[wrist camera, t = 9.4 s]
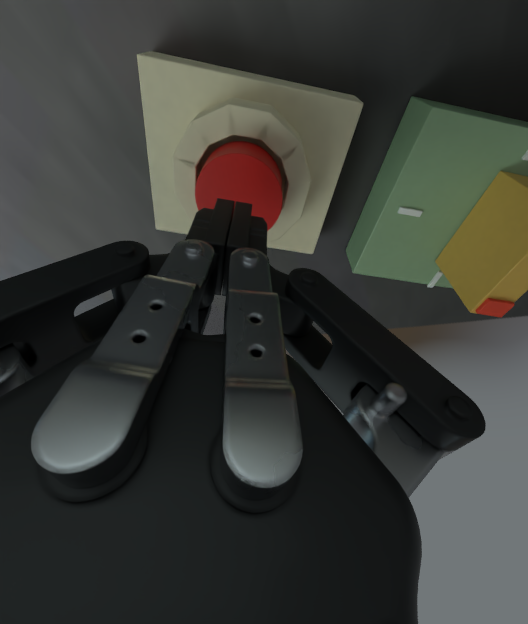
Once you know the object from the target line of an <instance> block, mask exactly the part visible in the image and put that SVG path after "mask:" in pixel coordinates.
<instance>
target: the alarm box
mask: <svg viewBox="0 0 528 624" xmlns="http://www.w3.org/2000/svg"><path fill="white" fill-rule="evenodd" d="M137 60H138V69H139V78H140V88H141V97H142V106H143V115H144V124H145V133H146V143H147V152H148V161H149V170H150V179H151V189H152V198H153V207H154V216H155V225H156V229H157V230H163V231H170V232H176V233H182V234H188V232H189V230H190V227H191V225H192V222H193V220H194V217H195V215H196V212H198V208H197V205H196V200H195V186H196V181H197V179H198V176H199V174H200V172H201V170H202V168H203V166H204V164H205V162H206V160H207V159H208V157H209V156H210V154H211V153H212V152H213V151H214V150H215V149H217V148H218V147H219V146H221V145H223V144H225V143H228V142H233V141H247V142H251V143H254V144H256V145H258V146H260V147H262V148H263V149H264V150H266V151H267V152H268V153H269V154H270V155H271V156H272V157H273V159H274V160H275V162H276V164H277V165H278V168H279V170H280V174H281V178H282V192H283V204H282V210H281V213H280V215H279V218H278V220H277V221H276V223H275V224H274V225H273V227H272V228H270V229H269V230H268V231H267V247H271V248H277V249H283V250H289V251H296V252H302V253H308V254H313V252H314V249H315V246H316V243H317V240H318V237H319V234H320V231H321V229H322V226H323V223H324V220H325V217H326V214H327V211H328V208H329V205H330V202H331V199H332V196H333V193H334V190H335V187H336V184H337V181H338V178H339V175H340V172H341V169H342V167H343V164H344V161H345V158H346V155H347V152H348V149H349V146H350V143H351V140H352V137H353V134H354V131H355V128H356V125H357V122H358V119H359V116H360V113H361V110H362V107H363V102H362V101H360V100H359V99H358V98H357V97H356V96H354V95H350V94H345V93H341V92H336V91H331V90H327V89H322V88H318V87H313V86H309V85H304V84H300V83H295V82H290V81H286V80H281V79H277V78H272V77H268V76H263V75H258V74H254V73H249V72H245V71H240V70H236V69H231V68H226V67H222V66H217V65H213V64H208V63H204V62H199V61H195V60H190V59H185V58H181V57H176V56H172V55H167V54H163V53H158V52H153V51H150V52H145V53H140V54H137Z"/></svg>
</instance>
